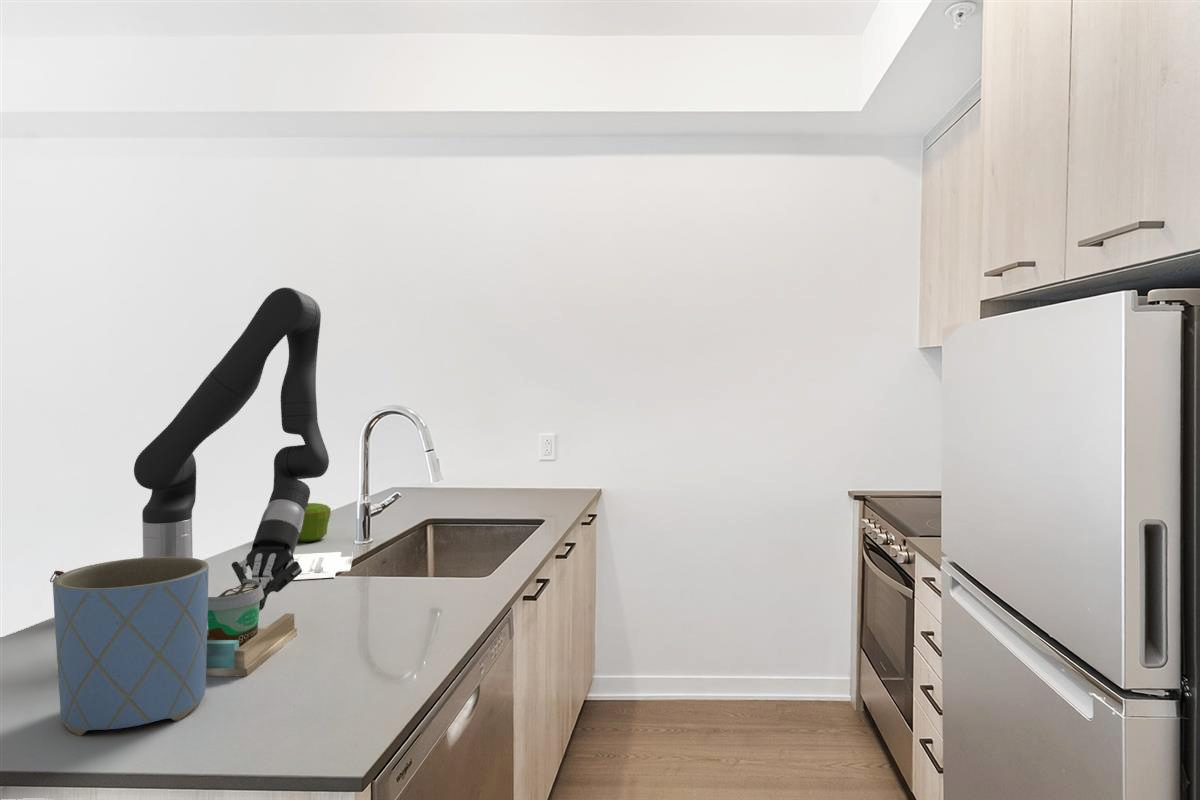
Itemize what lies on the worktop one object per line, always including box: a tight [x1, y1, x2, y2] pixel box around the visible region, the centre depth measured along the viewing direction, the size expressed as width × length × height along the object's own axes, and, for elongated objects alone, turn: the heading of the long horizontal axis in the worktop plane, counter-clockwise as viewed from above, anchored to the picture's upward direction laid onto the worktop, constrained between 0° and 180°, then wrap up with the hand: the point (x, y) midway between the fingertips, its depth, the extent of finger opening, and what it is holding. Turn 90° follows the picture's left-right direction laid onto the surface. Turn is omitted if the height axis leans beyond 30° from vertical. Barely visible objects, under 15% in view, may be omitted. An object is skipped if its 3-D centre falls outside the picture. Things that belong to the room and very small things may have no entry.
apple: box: [297, 502, 332, 543], centre depth 231 cm, size 12×12×11 cm
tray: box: [292, 551, 354, 581], centre depth 199 cm, size 20×28×4 cm
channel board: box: [206, 612, 298, 677], centre depth 137 cm, size 12×20×5 cm, turn 179°
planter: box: [52, 557, 210, 736], centre depth 114 cm, size 19×19×20 cm
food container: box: [207, 578, 264, 647], centre depth 137 cm, size 12×6×10 cm, turn 175°
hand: (252, 611), depth 141 cm, fingers closed
